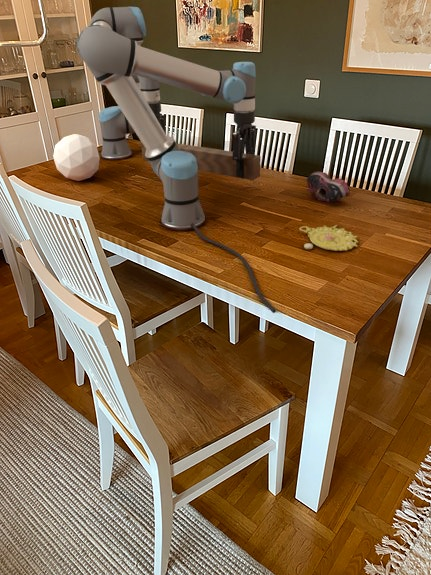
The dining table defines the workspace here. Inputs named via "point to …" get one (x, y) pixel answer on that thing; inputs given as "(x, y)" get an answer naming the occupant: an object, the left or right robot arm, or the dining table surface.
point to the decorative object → (330, 238)
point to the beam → (220, 161)
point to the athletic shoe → (327, 187)
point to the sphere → (76, 157)
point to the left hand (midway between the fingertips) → (156, 159)
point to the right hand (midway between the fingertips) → (244, 174)
